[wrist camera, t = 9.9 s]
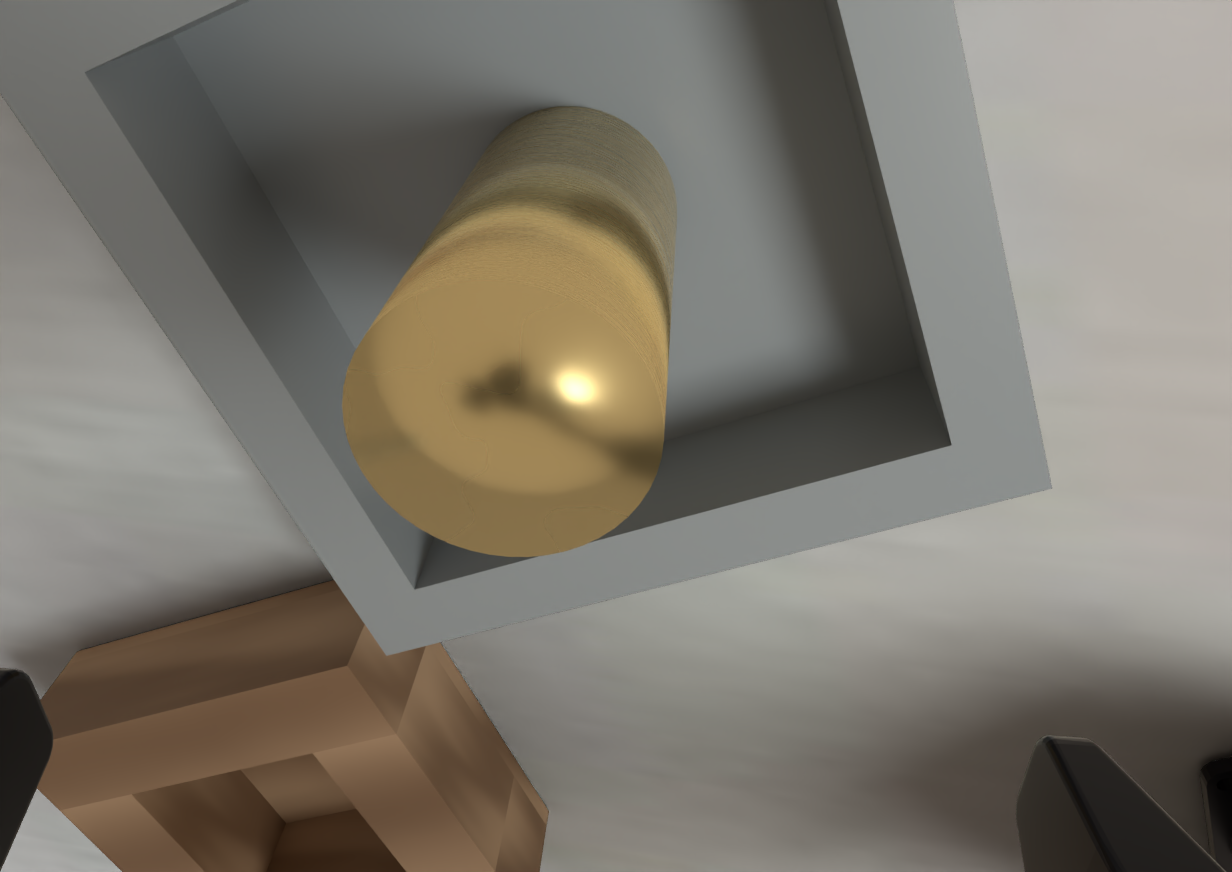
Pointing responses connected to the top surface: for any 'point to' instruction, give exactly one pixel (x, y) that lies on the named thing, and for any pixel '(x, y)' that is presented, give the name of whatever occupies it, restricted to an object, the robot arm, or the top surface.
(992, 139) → the top surface
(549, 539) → the brass pin
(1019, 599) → the top surface
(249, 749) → the walnut socket block
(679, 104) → the grey tray
